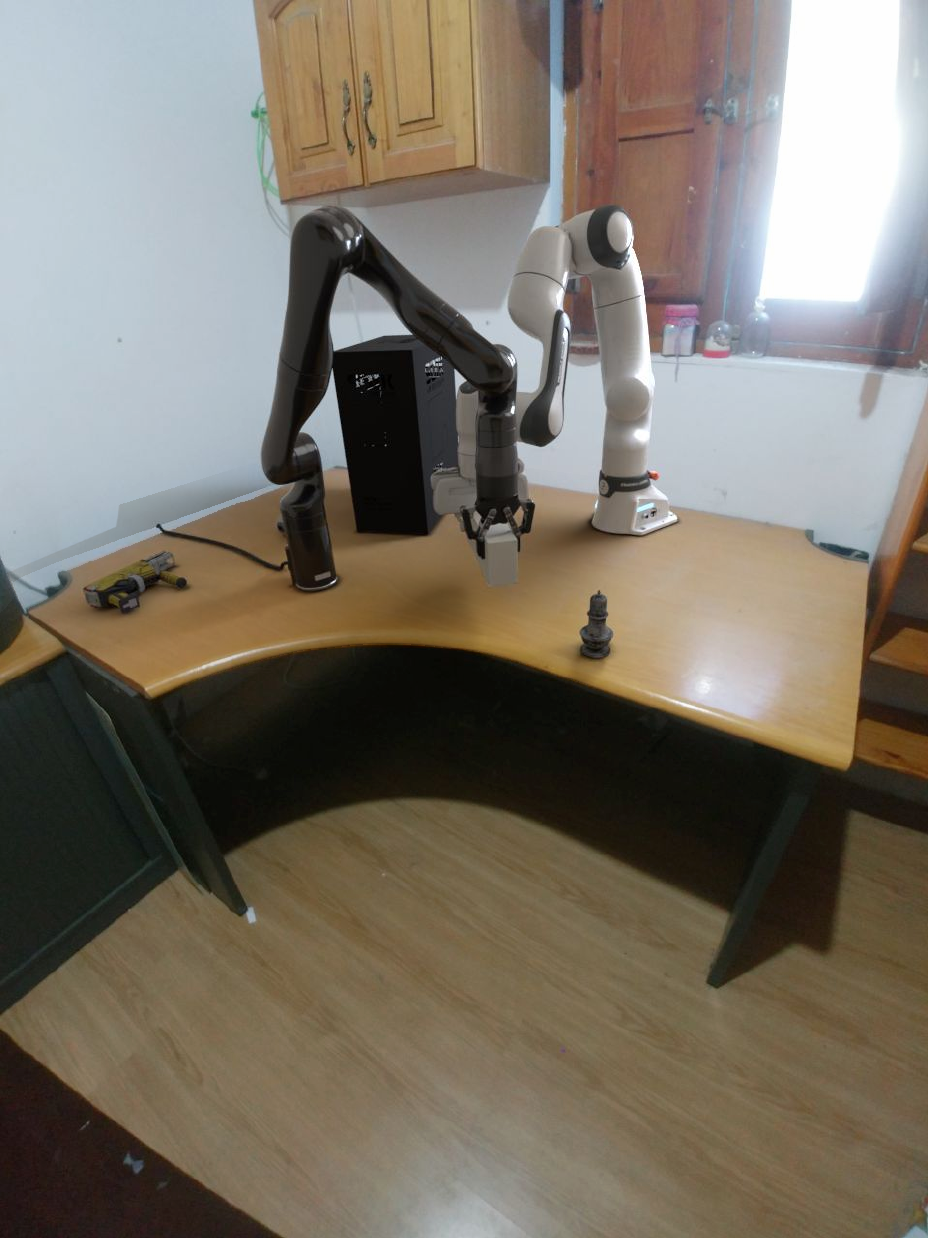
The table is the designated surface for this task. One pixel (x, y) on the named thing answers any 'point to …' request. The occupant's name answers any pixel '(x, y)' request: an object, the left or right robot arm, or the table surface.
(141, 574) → the toy gun
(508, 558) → the bar
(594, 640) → the dark grey chess piece
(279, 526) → the eyeball
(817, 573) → the table surface
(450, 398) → the cardboard box
